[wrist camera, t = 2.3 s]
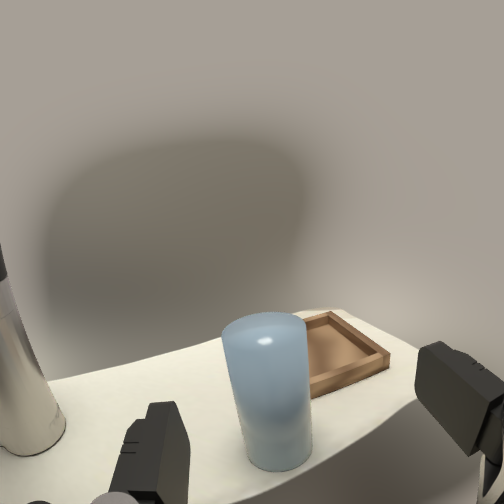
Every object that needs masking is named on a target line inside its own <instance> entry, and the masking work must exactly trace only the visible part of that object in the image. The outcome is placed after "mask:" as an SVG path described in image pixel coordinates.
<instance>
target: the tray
mask: <svg viewBox="0 0 504 504" xmlns="http://www.w3.org/2000/svg"><path fill="white" fill-rule="evenodd" d="M302 320H303V321H304V322H305V324H306V332H307V346H308V362H309V379H310V399H313V398H316V397H319V396H322V395H324V394H327V393H330V392H332V391H335V390H338V389H340V388H343V387H345V386H348V385H350V384H353V383H355V382H358V381H360V380H363V379H365V378H367V377H370V376H372V375H374V374H377V373H379V372H381V371H383V370H386V369H388V368H389V364H390V353H389V352H388V351H387V350H385V349H384V348H382V347H381V346H379V345H378V344H377V343H375V342H374V341H372V340H371V339H370V338H368V337H367V336H365V335H364V334H363V333H361V332H360V331H358V330H357V329H356V328H354V327H353V326H351V325H350V324H348V323H347V322H346V321H344V320H343V319H341V318H340V317H339V316H337V315H336V314H334V313H333V312H332V311H329V312H326V313H323V314H319V315H316V316H312V317H309V318H305V319H302Z"/></svg>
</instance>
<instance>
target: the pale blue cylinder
mask: <svg viewBox="0 0 504 504" xmlns="http://www.w3.org/2000/svg"><path fill="white" fill-rule="evenodd" d="M221 337H222V342H223V347H224V352H225V357H226V362H227V367H228V372H229V376H230V381H231V386H232V390H233V395H234V400H235V404H236V409H237V413H238V417H239V422H240V426H241V430H242V435H243V439H244V443H245V447H246V451H247V455H248V458H249V460H250V461H251V463H252V464H254V465H255V466H256V467H258V468H260V469H262V470H266V471H271V472H283V471H288V470H291V469H294V468H296V467H298V466H300V465H301V464H303V463H304V462H305V461H306V460H307V459H308V457H309V456H310V454H311V451H312V422H311V399H310V379H309V362H308V346H307V332H306V324H305V322H304V321H303V320H302V319H301V318H300V317H298V316H296V315H293V314H289V313H283V312H265V313H257V314H253V315H249V316H245V317H242V318H240V319H237V320H235V321H233V322H232V323H230V324H229V325H228V326H227V327H225V329H224V330H223V332H222V336H221Z"/></svg>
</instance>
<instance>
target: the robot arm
mask: <svg viewBox="0 0 504 504" xmlns="http://www.w3.org/2000/svg"><path fill="white" fill-rule="evenodd" d="M415 393H416V396H417V398H418V399H419V401H420V402H421V403H422V404H423V405H424V406H425V408H426V409H427V410H428V411H429V412H430V413H431V414H432V415H433V417H434V418H435V419H436V420H437V421H438V422H439V424H440V425H441V426H442V427H443V428H444V429H445V430H446V432H447V433H448V434H449V435H450V436H451V437H452V439H453V440H454V441H455V442H456V443H457V444H458V446H459V447H460V448H461V449H462V450H463V451H464V453H465V454H466V455H467V456H468V457H469V456H471V455H473V454H474V453H476V452H478V451H479V450H481V451H482V452H483V455H482V457H481V463H480V478H479V487H478V496H477V503H476V504H504V382H503V381H502V380H501V379H500V378H498V377H497V376H496V375H494V374H493V373H492V372H490V371H489V370H488V369H485V367H484V366H483V365H481V364H480V363H477V361H476V360H474V359H473V358H472V357H471V356H469V355H468V354H466V353H463V352H460V351H457V350H453V349H451V348H450V347H449V346H447V345H446V344H445V343H443V342H441V341H438V342H436V343H433V344H430V345H427V346H424V347H422V348H420V350H419V353H418V361H417V369H416V377H415ZM65 424H66V423H65V418H64V416H63V414H62V412H61V410H60V408H59V405H58V403H57V402H56V400H55V398H54V396H53V394H52V392H51V390H50V388H49V386H48V384H47V382H46V380H45V377H44V375H43V373H42V371H41V369H40V366H39V364H38V361H37V359H36V357H35V355H34V352H33V349H32V347H31V344H30V342H29V339H28V337H27V334H26V331H25V329H24V326H23V323H22V320H21V317H20V314H19V311H18V308H17V305H16V302H15V299H14V296H13V293H12V289H11V286H10V282H9V278H8V276H7V271H6V268H5V263H4V259H3V255H2V250H1V245H0V446H4V447H5V448H6V449H7V450H8V451H9V452H11V453H13V454H16V455H23V456H27V455H34V454H37V453H40V452H42V451H44V450H46V449H48V448H49V447H51V446H52V445H53V444H54V443H55V442H56V441H57V440H58V439H59V438H60V437H61V435H62V434H63V431H64V429H65ZM123 443H124V445H122V448H121V451H120V453H121V455H119V458H118V461H117V464H116V468H115V471H114V474H113V478H112V481H111V485H110V488H109V491H108V493H105V494H102V495H100V496H99V497H97V498H96V499H95V500H94V501H92V503H91V504H187V503H188V484H189V468H190V442H189V438H188V435H187V432H186V429H185V427H184V424H183V421H182V419H181V416H180V413H179V411H178V408H177V405H176V403H175V402H174V401H168V402H156V403H150V404H149V406H148V410H147V414H146V417H145V419H136V420H135V422H134V423H133V424H132V425H131V426H130V427H129V428H128V430H127V432H126V435H125V438H124V441H123ZM28 504H50V503H48V502H45V501H33V502H30V503H28Z"/></svg>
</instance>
